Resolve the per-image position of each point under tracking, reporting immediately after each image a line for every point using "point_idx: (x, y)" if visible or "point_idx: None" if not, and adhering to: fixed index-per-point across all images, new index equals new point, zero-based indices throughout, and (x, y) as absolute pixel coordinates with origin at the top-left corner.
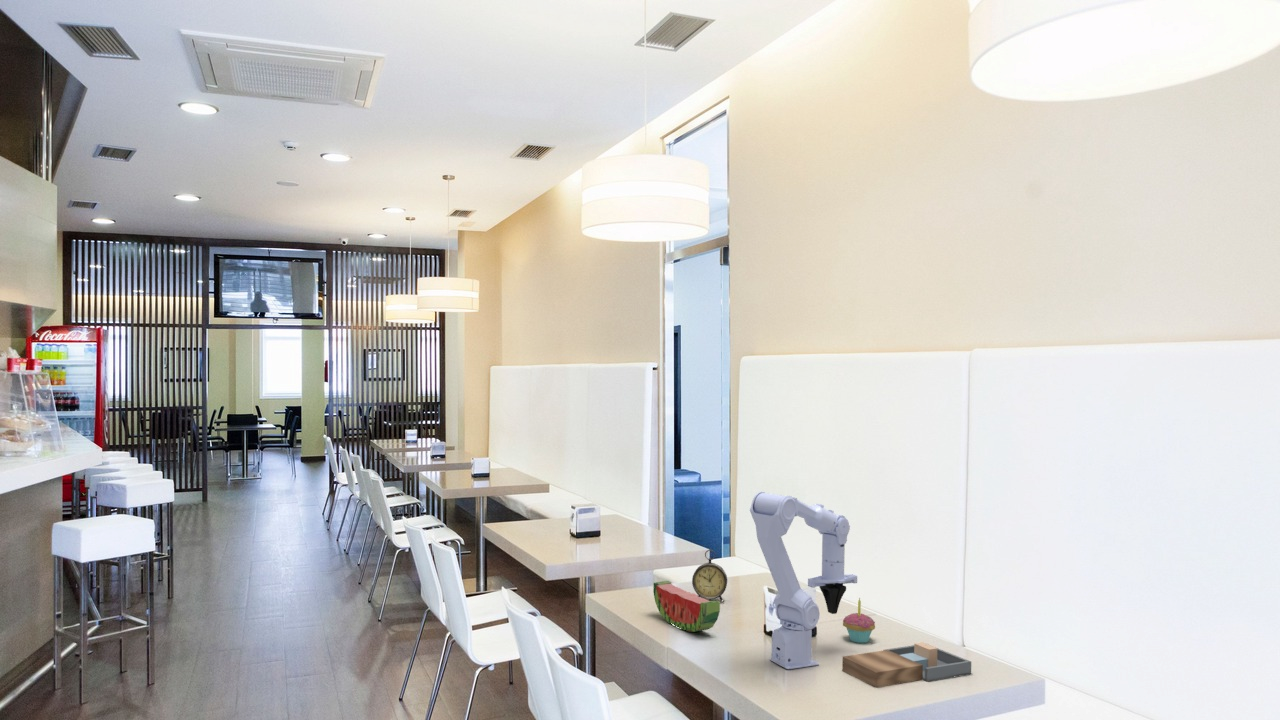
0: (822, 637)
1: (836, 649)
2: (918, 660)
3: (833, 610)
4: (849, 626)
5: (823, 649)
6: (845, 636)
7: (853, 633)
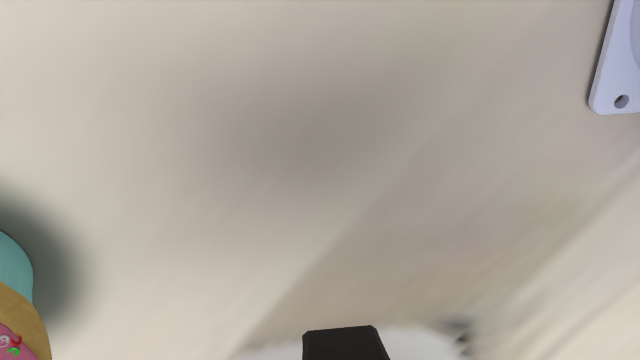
0: (198, 347)
1: (243, 152)
2: None
3: (382, 358)
4: (31, 328)
5: (335, 174)
6: None
7: (10, 285)
